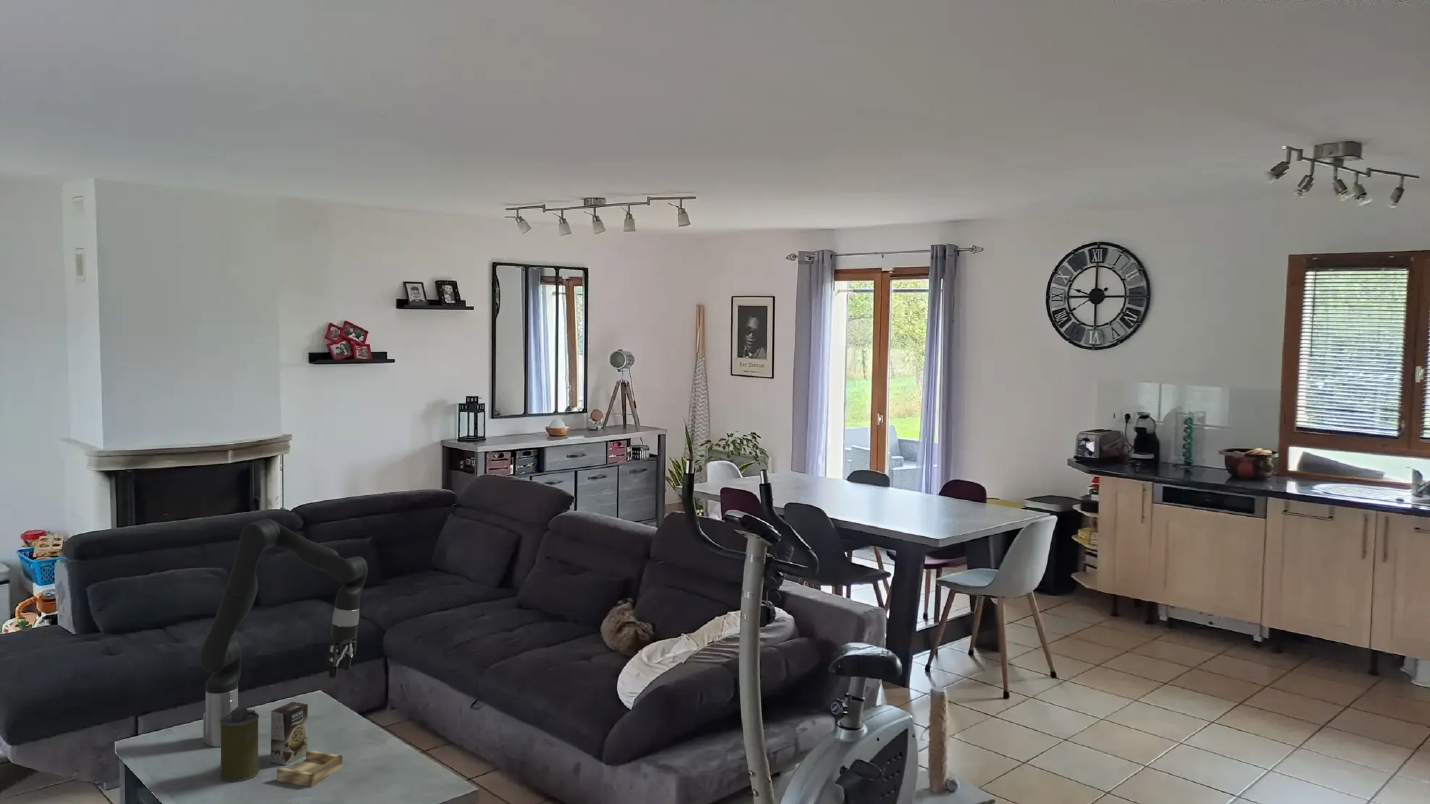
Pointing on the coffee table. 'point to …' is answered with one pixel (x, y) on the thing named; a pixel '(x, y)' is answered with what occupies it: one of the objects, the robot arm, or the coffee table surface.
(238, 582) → the robot arm
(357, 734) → the coffee table surface
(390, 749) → the coffee table surface
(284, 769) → the oak cradle
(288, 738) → the coffee box
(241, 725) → the canister
